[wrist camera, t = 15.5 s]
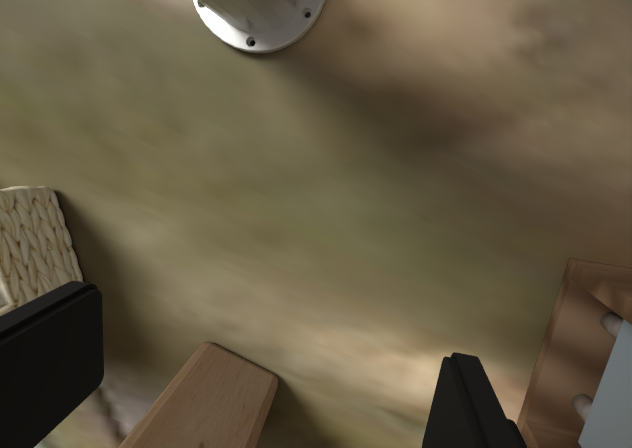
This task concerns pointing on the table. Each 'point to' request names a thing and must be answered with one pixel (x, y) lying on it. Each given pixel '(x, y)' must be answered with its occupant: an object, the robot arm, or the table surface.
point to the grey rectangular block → (612, 399)
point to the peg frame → (575, 353)
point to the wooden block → (208, 404)
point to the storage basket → (33, 246)
